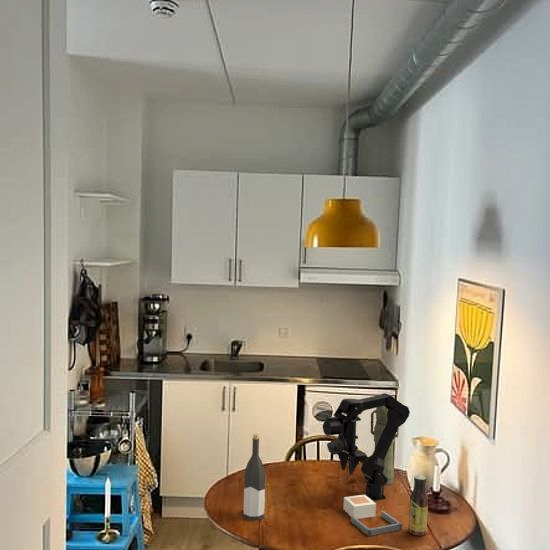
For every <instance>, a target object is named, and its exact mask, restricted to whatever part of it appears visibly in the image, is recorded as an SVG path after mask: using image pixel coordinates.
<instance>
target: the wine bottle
mask: <svg viewBox="0 0 550 550" xmlns="http://www.w3.org/2000/svg"><path fill="white" fill-rule="evenodd" d="M259 436H260V435H259V434H258V433H254V434H253V436H252V451H251V452H252V454H251V456H250V459H249V460H248V462H247V465H246V466H245V471H244V481H243V486H244V487H243V489H244V490H243V519H245V520H248V521H252V522H253V521H254V520H258V521H260V520H262V519H264V518H265V504H266V503H265V502H266V501H265V499H266V498H265V497H266V494H265V493H266V472H265V466H264V463H263V461H262V459H261V457H260V455H259V453H260V452H259V451H260V450H259V449H260V437H259ZM263 517H264V518H263ZM261 518H262V519H261ZM259 519H260V520H259Z"/></svg>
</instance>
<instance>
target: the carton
mask: <svg viewBox="0 0 550 550" xmlns="http://www.w3.org/2000/svg"><path fill="white" fill-rule="evenodd" d="M344 510H345V511H344ZM343 511H344V512H345V513H346V512H347V513H348V514H347V513H346V514H347V515H348V516H349V517H351V516H354V517H355V518H356V519H358V520H359V519H366V518H374V517H376V516H377V514H376V513H377V503H376V502H375V501H374V500H371V499H370V498H369V497H367V496H366V495H364V494H359V495H350V496H344V497H343Z"/></svg>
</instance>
